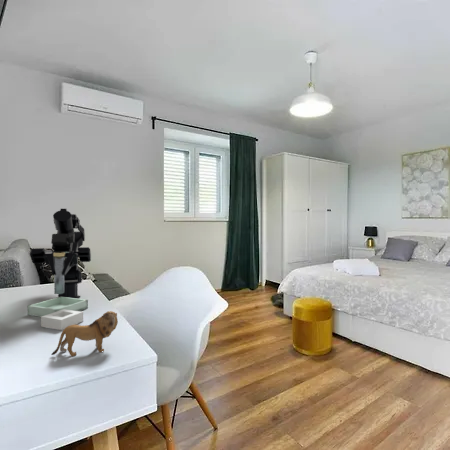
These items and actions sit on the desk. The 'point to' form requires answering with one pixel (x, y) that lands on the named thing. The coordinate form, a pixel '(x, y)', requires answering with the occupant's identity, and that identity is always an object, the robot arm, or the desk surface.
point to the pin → (58, 272)
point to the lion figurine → (88, 332)
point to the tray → (57, 306)
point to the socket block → (61, 319)
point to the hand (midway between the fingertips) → (58, 274)
